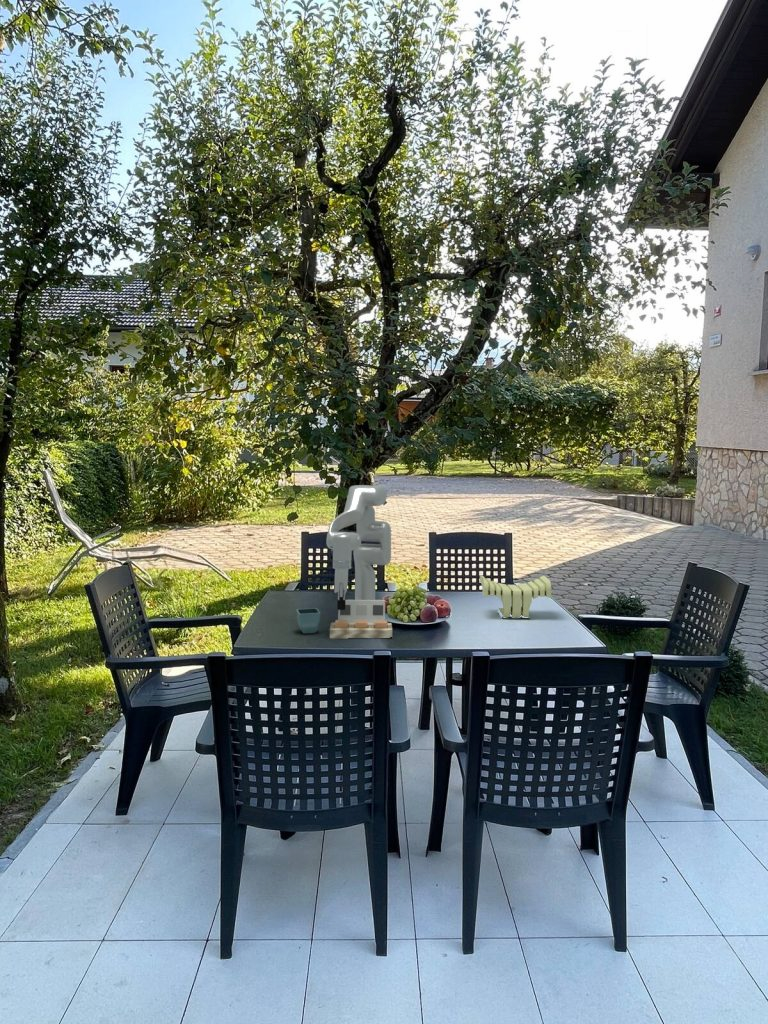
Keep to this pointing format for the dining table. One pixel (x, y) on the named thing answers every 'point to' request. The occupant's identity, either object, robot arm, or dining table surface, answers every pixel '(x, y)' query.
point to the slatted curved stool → (516, 594)
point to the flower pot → (308, 619)
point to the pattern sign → (363, 610)
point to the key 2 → (380, 623)
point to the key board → (361, 631)
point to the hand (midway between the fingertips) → (341, 609)
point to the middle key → (360, 623)
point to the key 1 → (341, 624)
